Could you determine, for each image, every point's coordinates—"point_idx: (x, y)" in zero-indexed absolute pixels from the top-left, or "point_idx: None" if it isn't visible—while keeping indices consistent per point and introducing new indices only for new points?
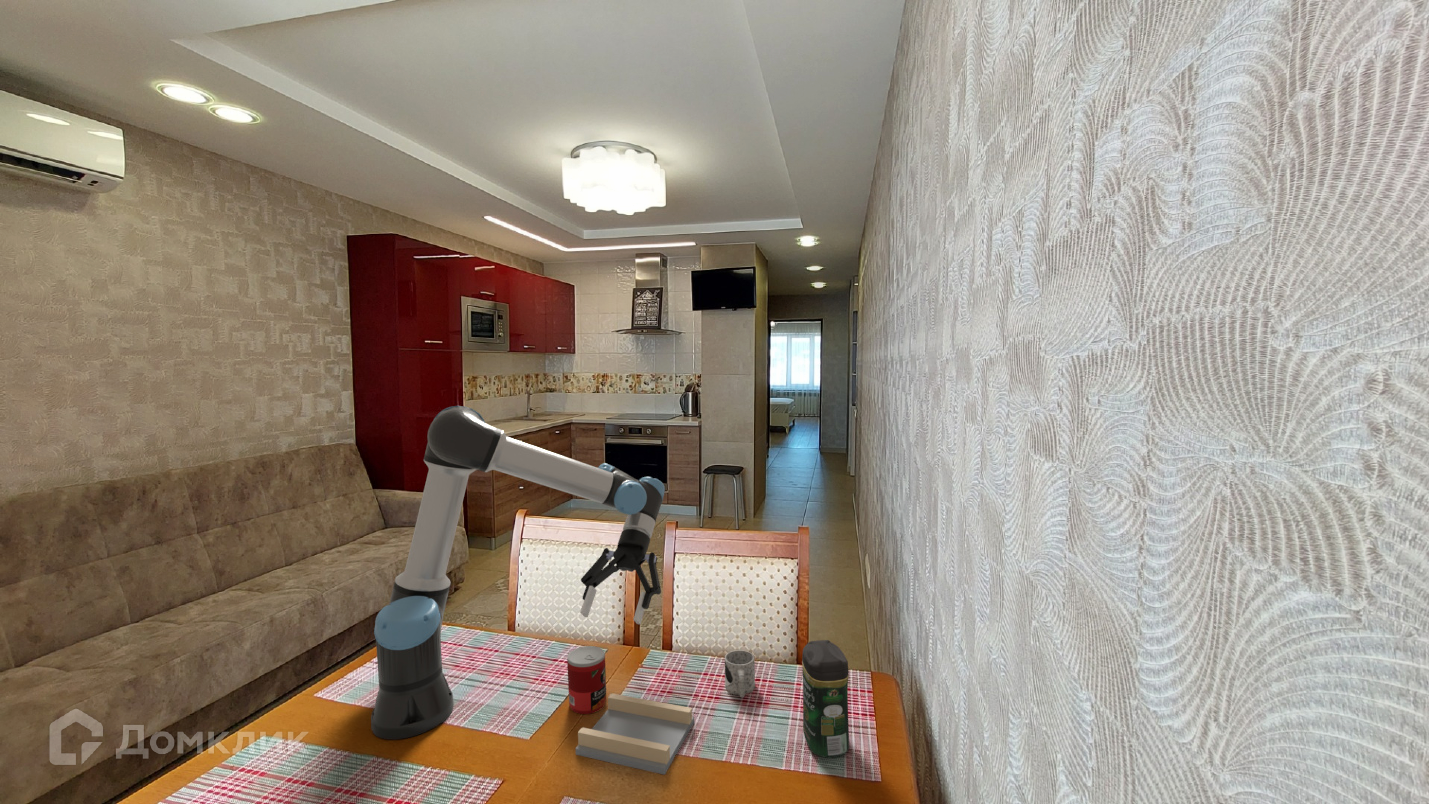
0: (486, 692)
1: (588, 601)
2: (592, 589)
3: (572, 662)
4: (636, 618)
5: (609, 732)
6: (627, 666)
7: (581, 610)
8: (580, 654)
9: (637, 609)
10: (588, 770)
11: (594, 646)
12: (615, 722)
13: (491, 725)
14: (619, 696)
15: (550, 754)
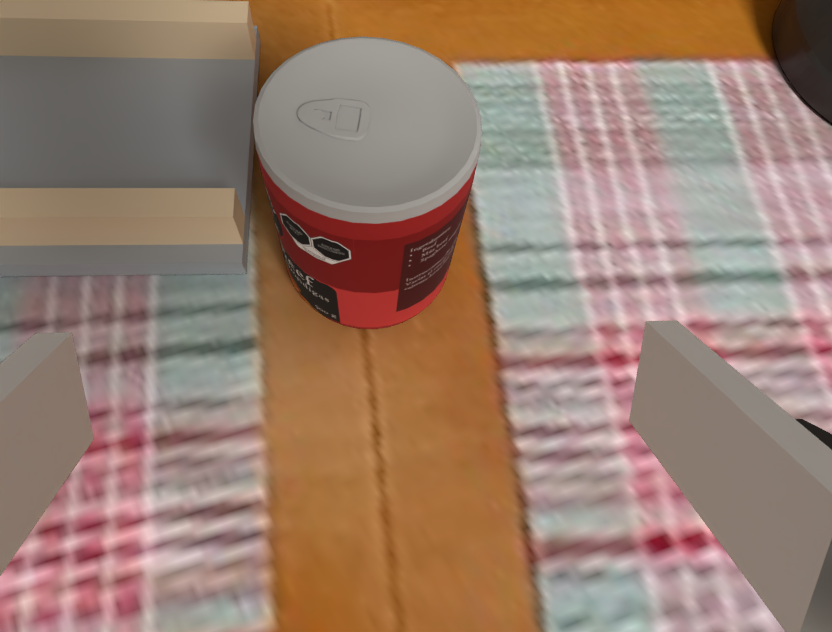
0: (807, 218)
1: (704, 412)
2: (804, 511)
3: (397, 41)
4: (30, 339)
5: (175, 107)
6: (344, 615)
7: (680, 330)
8: (414, 132)
9: (2, 387)
10: None
11: (373, 207)
12: (177, 157)
13: (620, 83)
14: (183, 207)
15: (340, 28)
